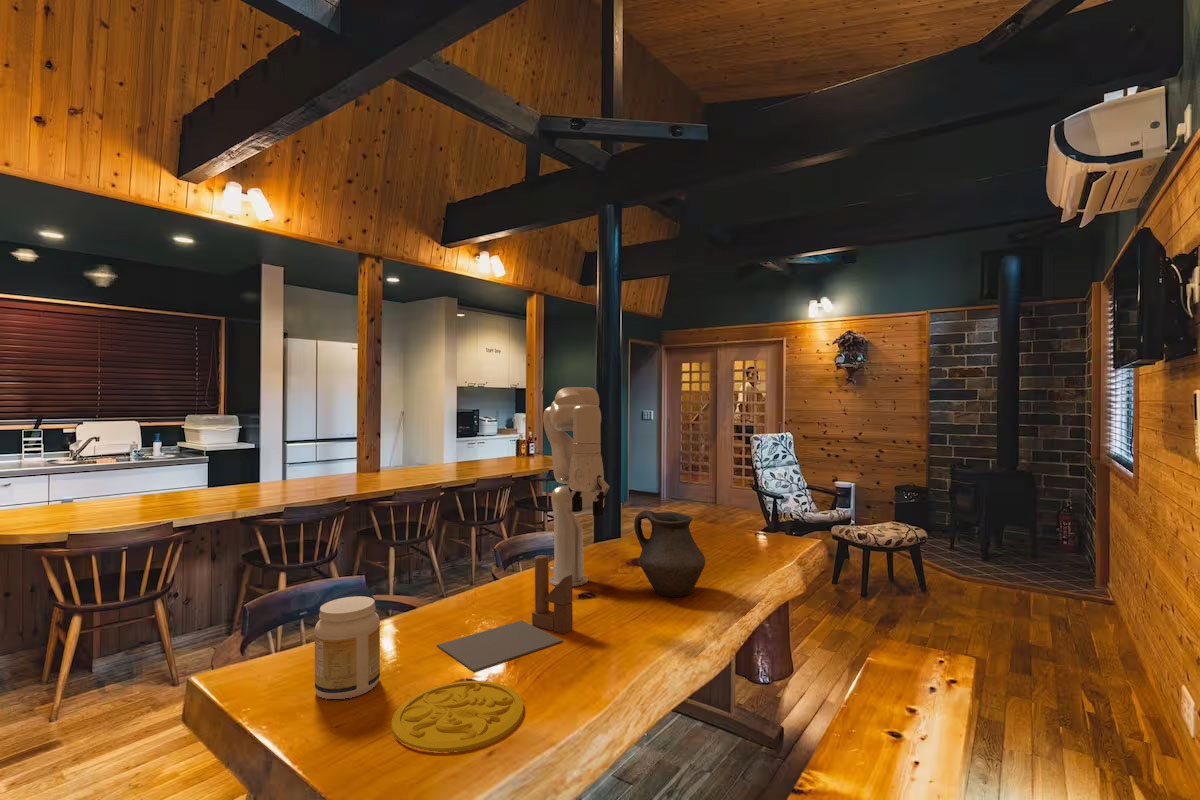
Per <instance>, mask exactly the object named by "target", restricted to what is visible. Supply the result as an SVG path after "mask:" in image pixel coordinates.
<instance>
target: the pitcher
mask: <svg viewBox="0 0 1200 800" xmlns="http://www.w3.org/2000/svg"><path fill="white" fill-rule="evenodd" d="M645 519H646V520H648V521H649V522H650V524H651V533H650V537H649V538H646V537H645V535H644V533H643V529H642V520H645ZM692 521H693V518H692V516H690V515H689V514H683V513H679V512H672V511H669V512H666V511H665V512H664V511H663V512H662V511H660V512H653V511H652V510H642V511H640V512H639V513H638V514H637V515H636V516H635V518H634V522H633V524H634V525H633V529H634V531H635V532H634V533H635V535H636V538H637V541H638V542H639V545H640V548H641V552H640V555H639V557H638V562H639V566H640V567H641V570H642V571H643V573H644V574H645V576H646V578H647V580H648V582H649V583H650V585H651V587H652V589H653V590H654V592H655V594H656V593H657V594H656V595H658V594H659V595H658V596H661V595H662V597H666V598H667V597H668V598H675V597H676V598H684V597H686V596H689V595H690V594H691V593H692V592H693V590H694V588H695V586H696V584H697V583H698V581H699V579H700V576H701V575H702V573H703V570H704V568H705V566H706V559H705V556H704V553H703V551H702V550H701V549H700V548H699V546H698V545H697V543H696V542H695V540H694V538H693V535H692V532H691V529H690V524H691V522H692Z"/></svg>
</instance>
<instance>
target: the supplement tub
mask: <svg viewBox="0 0 1200 800" xmlns="http://www.w3.org/2000/svg"><path fill="white" fill-rule="evenodd" d="M375 603H376V602H375V599H374V598H372V597H369V596H361V595H360V596H359V595H358V596H347V597H340V598H337V599H332V600H330V601H328V602H325V603H323V604H322V605H320V608H319V614H318V617H319V620H318V621H317V622H316V624H315V627H314V632H313V633H314V690H315V694H316V695H317V696H318V697H319V698H321V697H322V698H321V699H323V698H326V699H325V700H327V699H344V700H346V699H345V698H349V699H352V697H353V698H355V697H359V696H362V695H363V694H366V693H368V692H370V691H371V690H372V689H374V688H375V687H376V686H377V684H378V683H379V681H380V678H381V677H380V676H381V668H380V667H381V665H380V664H381V659H380V658H381V653H380V652H381V649H380V647H381V646H380V644H381V642H380V641H381V640H380V637H381V636H380V633H381V631H380V630H381V627H380V626H381V625H380V624H381V623H380V622H381V621H380V616H379V614H378V613H377V612H376V604H375ZM373 687H374V688H373ZM369 690H370V691H369Z"/></svg>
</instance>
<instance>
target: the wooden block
mask: <svg viewBox="0 0 1200 800" xmlns="http://www.w3.org/2000/svg"><path fill="white" fill-rule="evenodd" d="M549 570H550V568H549V556H548V555H547V554H546V555H545V554H541V555H540V554H539V555H536V556H534V611H532V613H531V625H532V626H534V627H536V628H539V629H545V630H548V631H552V632H556V633H560V634H564V635H565V634H567V633H570V632H571V631H572V630H573V629H574V628H573V626H574V625H573V618H574V617H573V616H574V615H573V587H572V575H569V576H567V577H564V578H563V579H562V580H561V581H560V582H559V584H558V585H557V586H556V585H555V587H554V588H553V589H552V590H551V591H550V592H549V589H550V588H549V586H550V584H549V583H550V575H549V573H550V572H549ZM550 604H553V611H552V610H550Z"/></svg>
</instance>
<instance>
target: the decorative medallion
mask: <svg viewBox="0 0 1200 800" xmlns="http://www.w3.org/2000/svg"><path fill="white" fill-rule="evenodd" d="M523 716H524V701H523V699H522V696H520V694H519V693H518V692H517V691H515V690H514V689H512V688H511V687H509V686H507V685H504V684H500V683H497V682H492V681H485V680H464V681H455V682H449V683H445V684H440V685H436V686H433V687H431V688H428V689H427V688H426V689H425V690H423V691H420V692H418V693H417V694H415V695H412V697H410V698H408V699H407V700H406V701H404V702H403V703H402V704H400V706H399V707H397V709H396V710H395V711H394V713H393V715H392V719H391V724H392V725H391V728H392V731H391V733H393V734H394V736H395V737H396V738H397V739H398V740H399V741H401V742H402V743H404V744H407V745H409V746H412V747H416V748H419V749H424V750H429V751H436V752H437V751H438V752H454V751H463V752H467V751H466V750H468V751H472V749H473V750H476V749H479V748H478V747H480V748H482V746H483V747H485V746H488V745H491V744H492V743H495V742H497V741H499V740H500V739H502V738H504V737H506V736H507V735H508V734H510V733H511V732H512V731H513V730H514V729H515V728H516V727H517V726H518V725H519V724H520V722H521V720H522V719H523ZM393 734H392V735H393ZM394 736H393V737H394ZM475 748H476V749H475Z"/></svg>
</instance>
